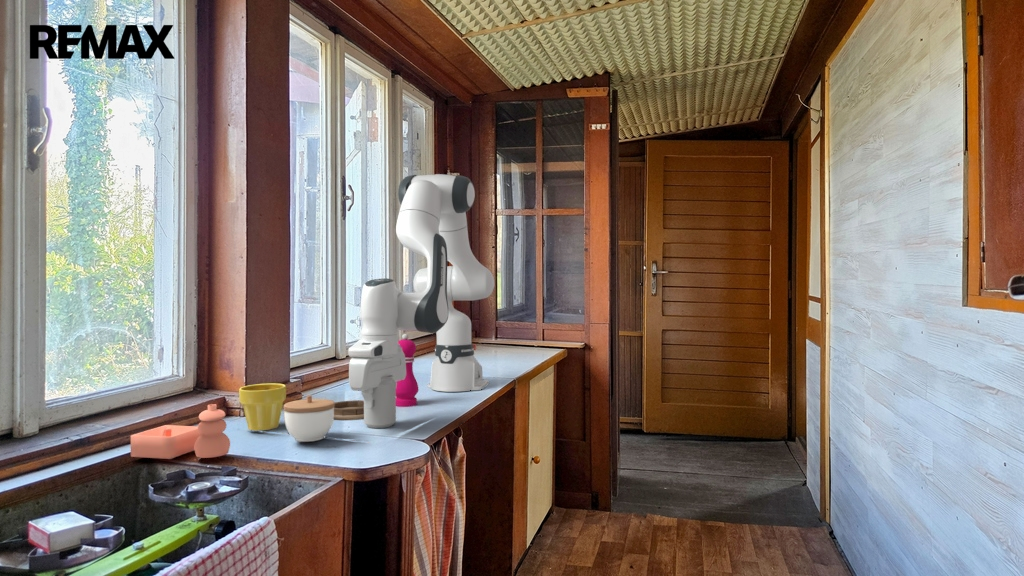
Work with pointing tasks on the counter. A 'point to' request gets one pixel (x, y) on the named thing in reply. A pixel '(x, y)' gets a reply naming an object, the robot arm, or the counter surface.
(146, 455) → the pottery
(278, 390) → the plant pot
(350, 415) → the stand
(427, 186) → the robot arm
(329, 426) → the lidded jar
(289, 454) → the counter surface
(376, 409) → the can
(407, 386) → the pepper mill
